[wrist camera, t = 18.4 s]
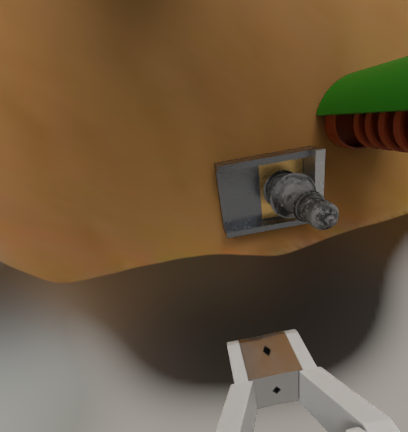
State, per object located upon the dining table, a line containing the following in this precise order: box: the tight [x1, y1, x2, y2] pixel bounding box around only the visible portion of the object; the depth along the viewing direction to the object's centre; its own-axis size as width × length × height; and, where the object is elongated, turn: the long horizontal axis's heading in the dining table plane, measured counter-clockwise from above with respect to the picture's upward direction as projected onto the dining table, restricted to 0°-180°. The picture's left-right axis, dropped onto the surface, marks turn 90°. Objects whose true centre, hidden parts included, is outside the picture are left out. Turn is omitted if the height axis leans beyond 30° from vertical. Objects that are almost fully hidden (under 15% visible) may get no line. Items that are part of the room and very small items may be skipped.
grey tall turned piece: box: [263, 170, 339, 230], centre depth 25 cm, size 6×6×12 cm
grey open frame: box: [214, 146, 326, 238], centre depth 30 cm, size 13×10×4 cm
